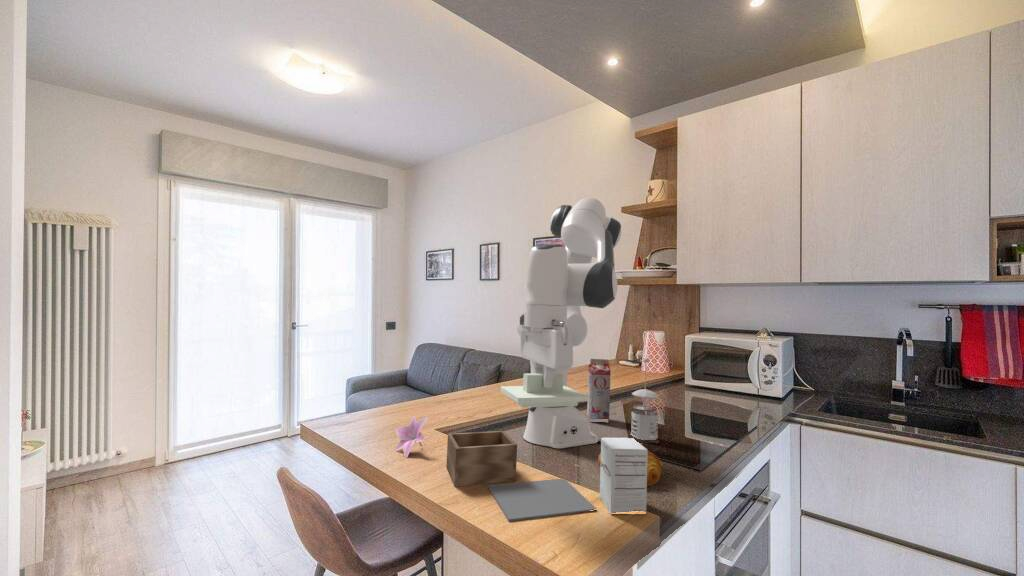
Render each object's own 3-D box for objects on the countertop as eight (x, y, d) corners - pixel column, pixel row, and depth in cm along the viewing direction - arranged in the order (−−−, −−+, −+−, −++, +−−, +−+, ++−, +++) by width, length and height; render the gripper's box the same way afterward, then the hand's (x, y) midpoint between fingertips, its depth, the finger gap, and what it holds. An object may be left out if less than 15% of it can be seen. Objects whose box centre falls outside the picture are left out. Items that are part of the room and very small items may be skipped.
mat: (564, 480, 95) (564, 478, 95) (596, 510, 81) (596, 508, 81) (488, 487, 90) (488, 485, 90) (508, 521, 76) (508, 519, 76)
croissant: (630, 501, 91) (634, 466, 90) (586, 466, 105) (589, 436, 104) (676, 489, 98) (680, 456, 97) (629, 457, 111) (632, 429, 111)
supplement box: (598, 498, 87) (600, 436, 88) (633, 498, 87) (634, 437, 88) (609, 515, 80) (611, 448, 80) (647, 515, 80) (648, 448, 81)
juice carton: (609, 423, 147) (610, 360, 148) (590, 422, 147) (592, 359, 148) (605, 418, 154) (606, 358, 155) (587, 417, 154) (588, 357, 155)
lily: (395, 447, 116) (385, 422, 113) (432, 430, 120) (423, 405, 116) (402, 473, 107) (390, 447, 103) (441, 454, 110) (432, 428, 106)
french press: (626, 441, 127) (628, 358, 128) (630, 431, 138) (632, 355, 139) (660, 446, 123) (661, 361, 125) (661, 435, 134) (663, 357, 136)
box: (502, 463, 104) (503, 430, 105) (515, 480, 94) (517, 444, 94) (446, 467, 100) (447, 433, 101) (454, 486, 90) (455, 448, 90)
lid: (563, 395, 95) (564, 369, 95) (588, 407, 83) (589, 378, 84) (499, 396, 90) (501, 370, 90) (517, 409, 79) (518, 379, 79)
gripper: (582, 321, 79) (580, 395, 78) (541, 318, 98) (539, 377, 97) (551, 320, 77) (549, 396, 76) (516, 317, 96) (514, 378, 95)
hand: (543, 385), depth 87 cm, fingers closed on lid, 2 cm apart
